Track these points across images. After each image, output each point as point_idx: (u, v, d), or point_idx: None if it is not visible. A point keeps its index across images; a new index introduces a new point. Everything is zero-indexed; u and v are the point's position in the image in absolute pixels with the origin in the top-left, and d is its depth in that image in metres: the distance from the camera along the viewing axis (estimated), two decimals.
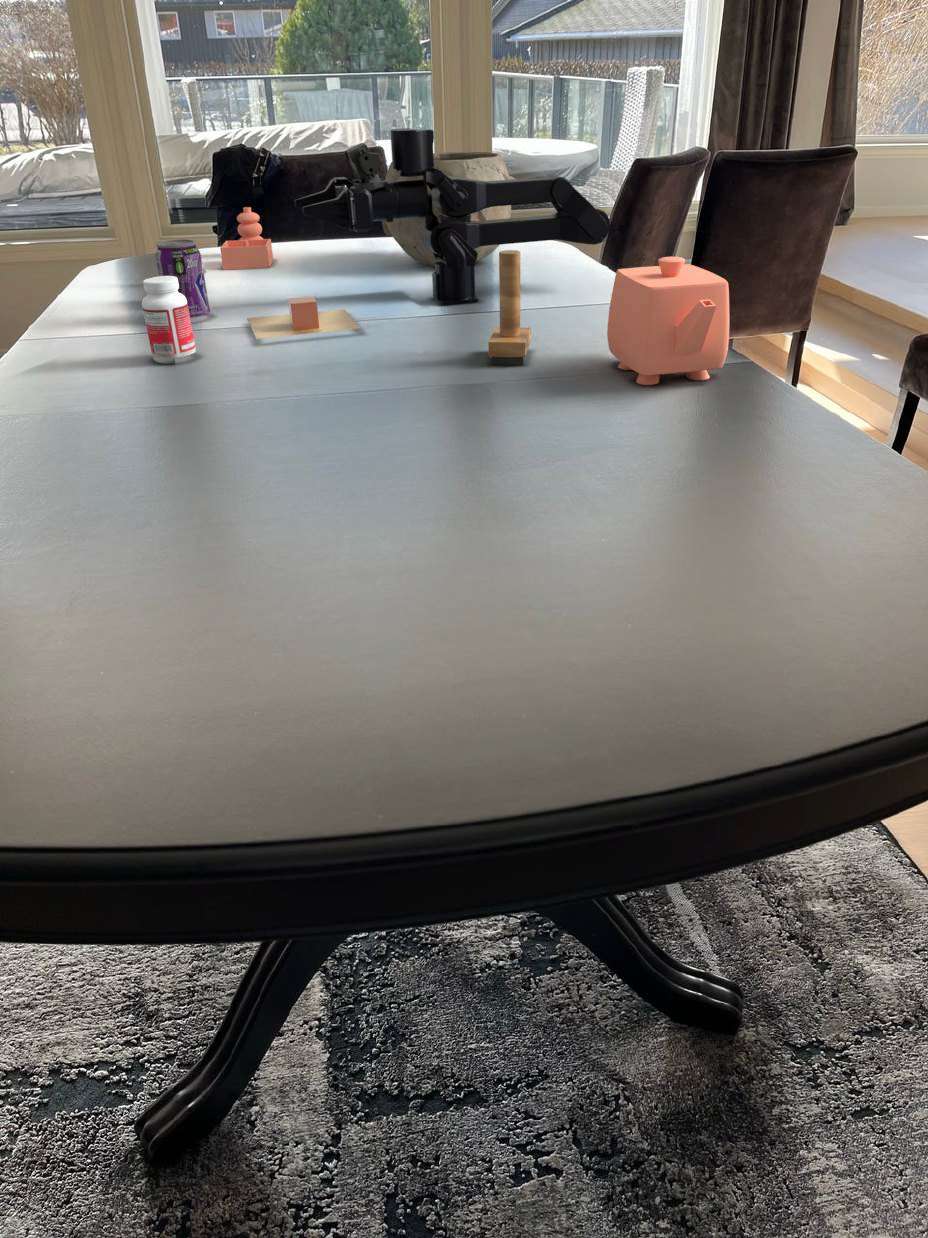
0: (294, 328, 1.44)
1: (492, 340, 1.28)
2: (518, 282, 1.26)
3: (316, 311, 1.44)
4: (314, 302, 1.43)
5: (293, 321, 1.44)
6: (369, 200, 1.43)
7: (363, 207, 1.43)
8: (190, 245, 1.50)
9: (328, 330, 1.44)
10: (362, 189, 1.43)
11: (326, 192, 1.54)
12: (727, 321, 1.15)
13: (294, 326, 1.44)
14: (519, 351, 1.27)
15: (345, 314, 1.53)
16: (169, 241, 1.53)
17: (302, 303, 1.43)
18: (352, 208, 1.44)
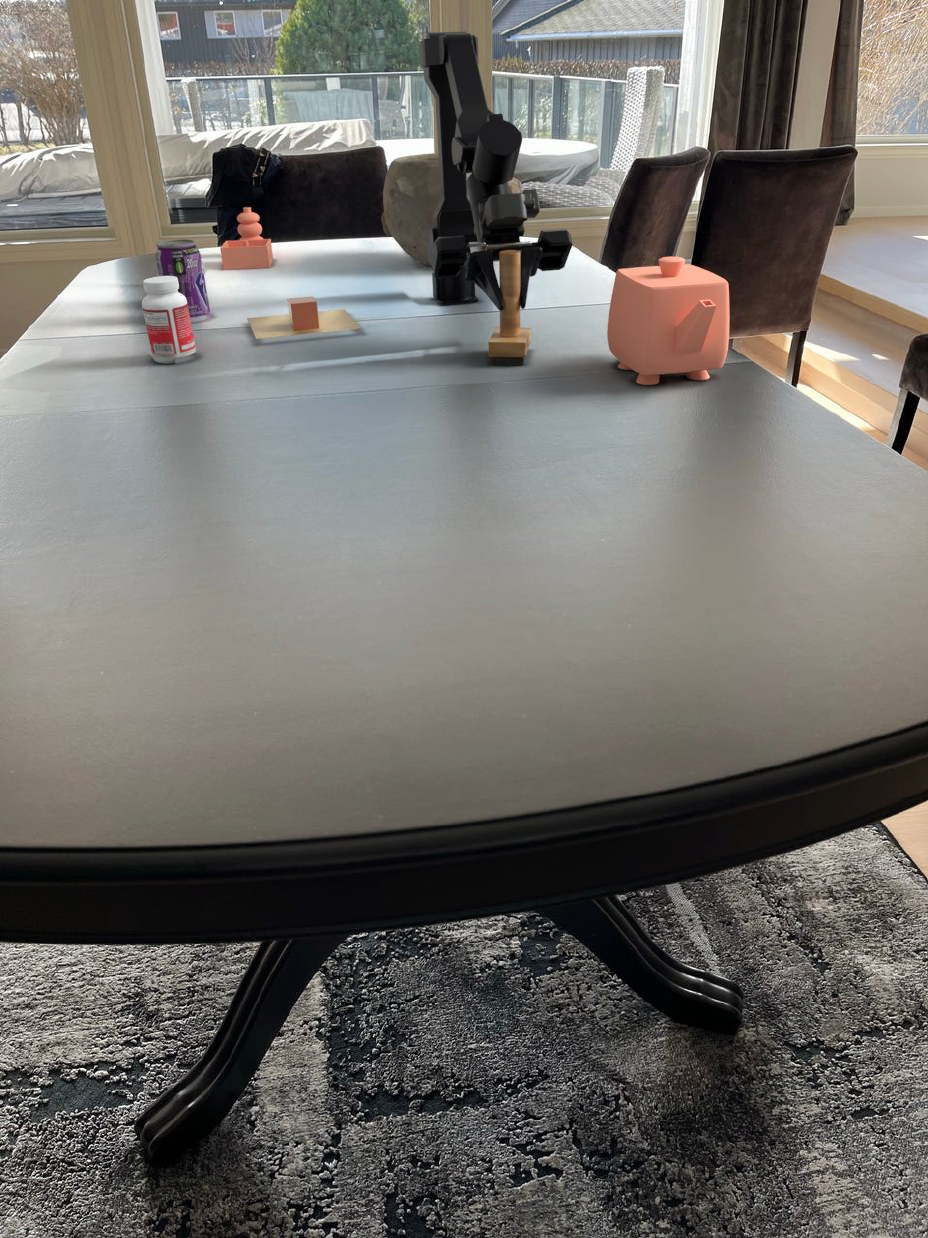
0: (294, 328, 1.44)
1: (492, 340, 1.28)
2: (518, 282, 1.26)
3: (316, 311, 1.44)
4: (314, 302, 1.43)
5: (293, 321, 1.44)
6: None
7: None
8: (190, 245, 1.50)
9: (328, 330, 1.44)
10: (568, 233, 1.28)
11: (493, 268, 1.27)
12: (727, 321, 1.15)
13: (294, 326, 1.44)
14: (519, 351, 1.27)
15: (345, 314, 1.53)
16: (169, 241, 1.53)
17: (302, 303, 1.43)
18: None
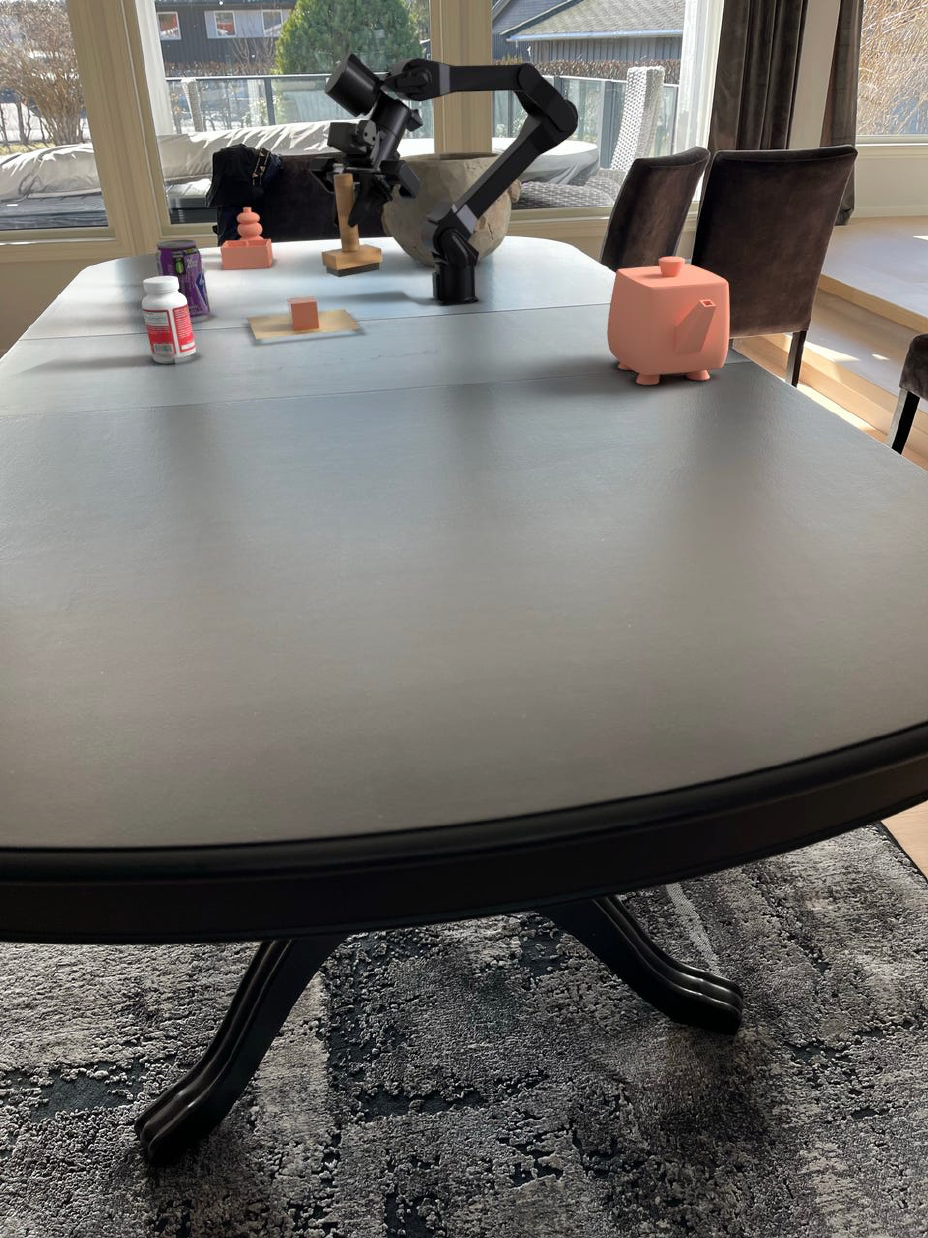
0: (294, 328, 1.44)
1: (327, 251, 1.48)
2: (345, 202, 1.43)
3: (316, 311, 1.44)
4: (314, 302, 1.43)
5: (293, 321, 1.44)
6: (408, 165, 1.40)
7: (409, 176, 1.40)
8: (190, 245, 1.50)
9: (328, 330, 1.44)
10: (399, 164, 1.38)
11: None
12: (727, 321, 1.15)
13: (294, 326, 1.44)
14: (333, 264, 1.45)
15: (345, 314, 1.53)
16: (169, 241, 1.53)
17: (302, 303, 1.43)
18: (383, 184, 1.43)
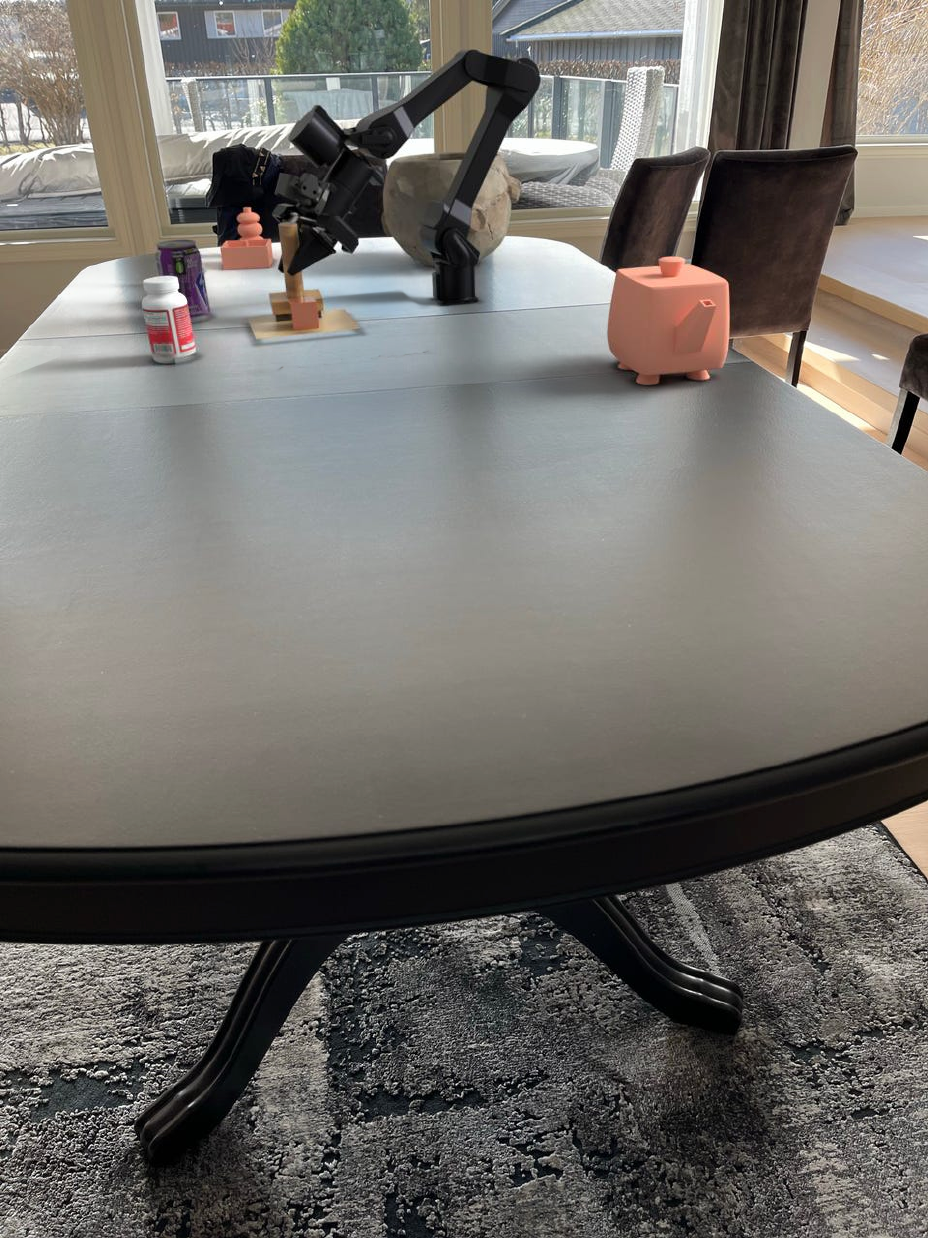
0: (294, 328, 1.44)
1: (274, 293, 1.51)
2: (287, 251, 1.45)
3: (316, 311, 1.44)
4: (314, 302, 1.43)
5: (293, 321, 1.44)
6: (342, 221, 1.40)
7: (342, 232, 1.40)
8: (190, 245, 1.50)
9: (328, 330, 1.44)
10: (330, 219, 1.39)
11: None
12: (727, 321, 1.15)
13: (294, 326, 1.44)
14: (272, 308, 1.49)
15: (345, 314, 1.53)
16: (169, 241, 1.53)
17: (302, 303, 1.43)
18: (324, 237, 1.44)
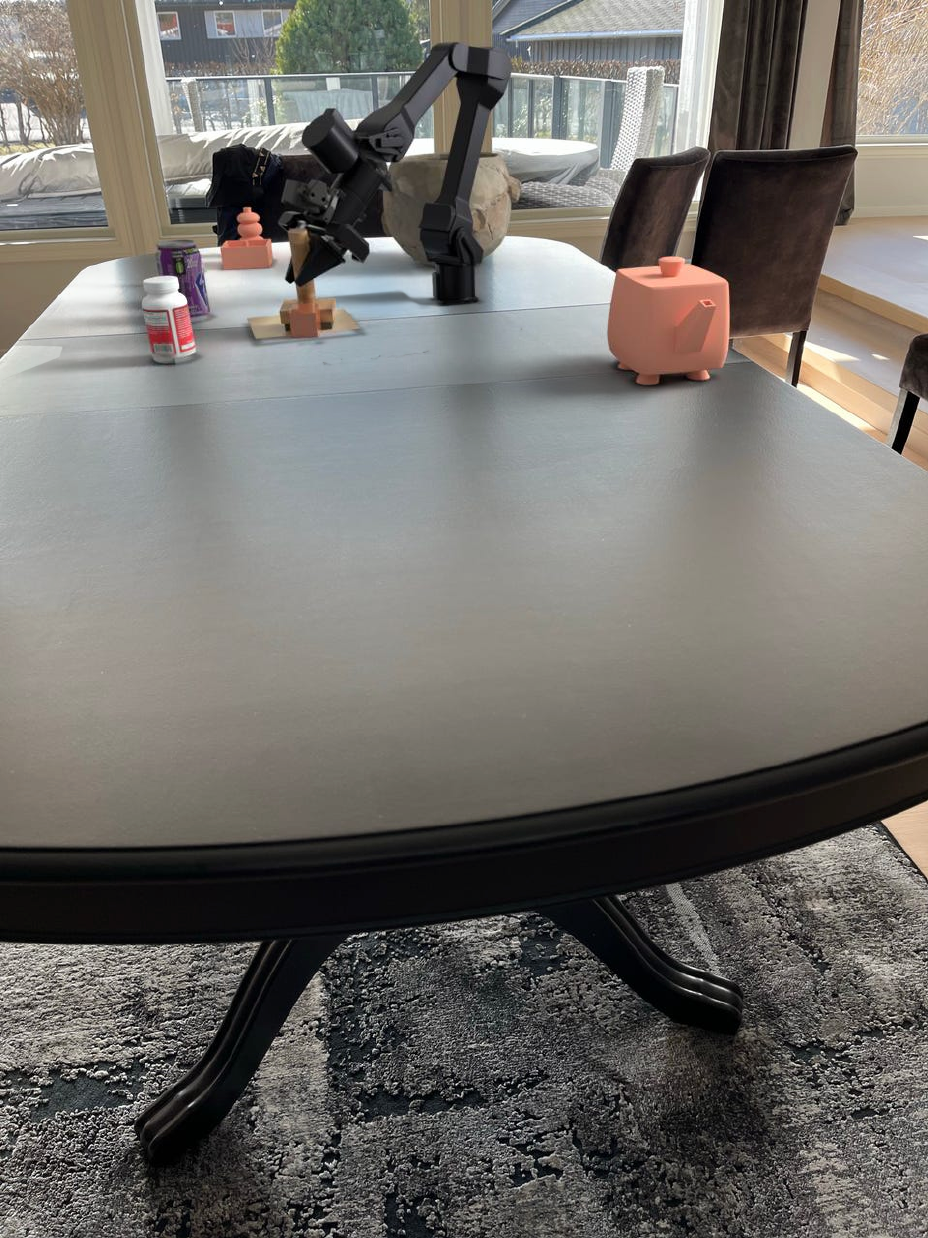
0: (292, 337, 1.41)
1: (289, 300, 1.46)
2: (295, 259, 1.39)
3: (315, 323, 1.39)
4: (313, 313, 1.39)
5: (291, 330, 1.40)
6: (352, 229, 1.33)
7: (353, 240, 1.34)
8: (190, 245, 1.50)
9: (328, 330, 1.44)
10: (340, 227, 1.33)
11: None
12: (727, 321, 1.15)
13: (292, 335, 1.40)
14: None
15: (345, 314, 1.53)
16: (169, 241, 1.53)
17: (301, 313, 1.39)
18: (333, 246, 1.37)
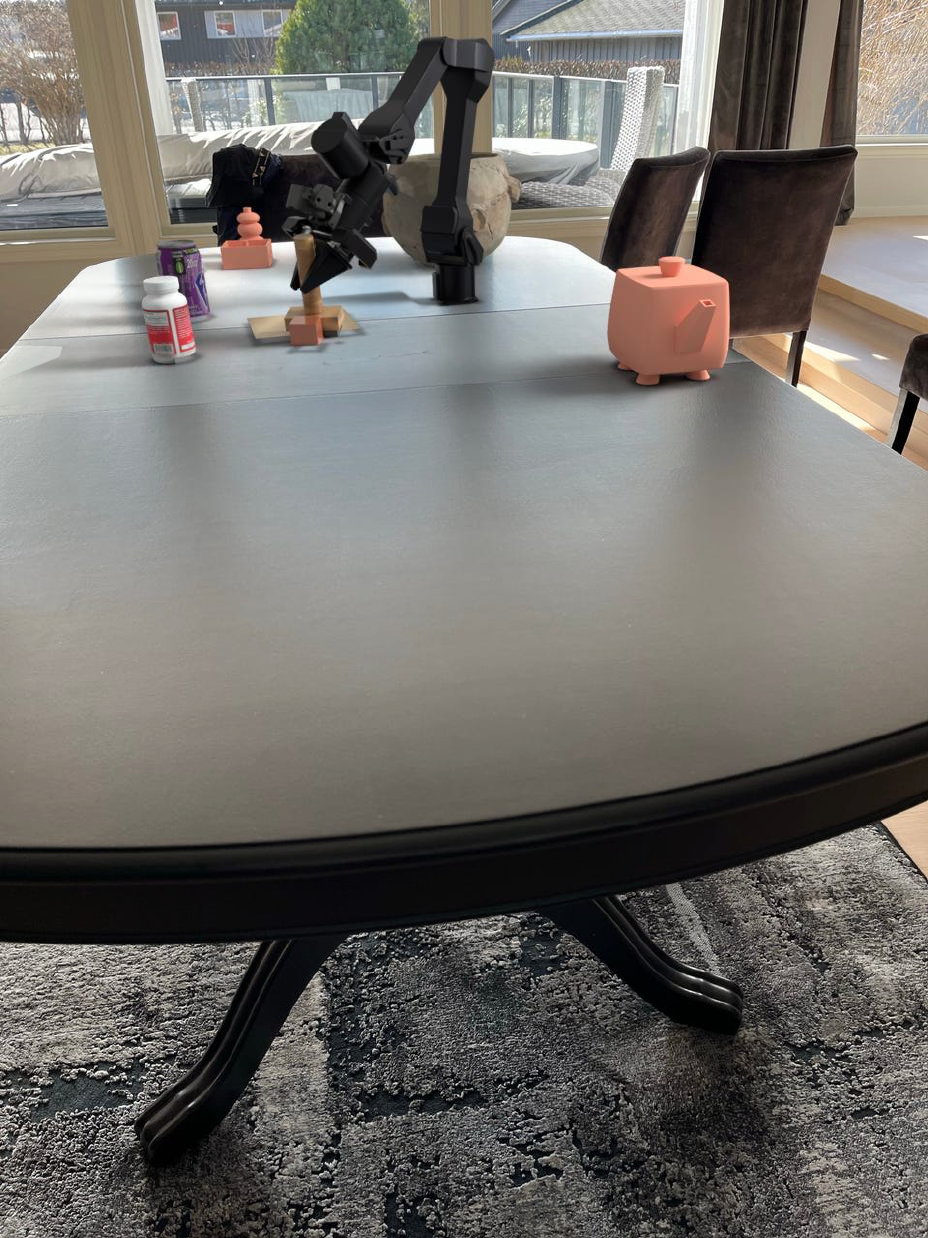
0: None
1: (295, 307, 1.42)
2: (300, 266, 1.35)
3: (315, 334, 1.36)
4: (313, 324, 1.35)
5: (291, 342, 1.37)
6: (359, 235, 1.30)
7: (360, 246, 1.30)
8: (190, 245, 1.50)
9: None
10: (347, 233, 1.29)
11: None
12: (727, 321, 1.15)
13: None
14: None
15: (345, 314, 1.53)
16: (169, 241, 1.53)
17: (301, 324, 1.35)
18: (339, 252, 1.34)
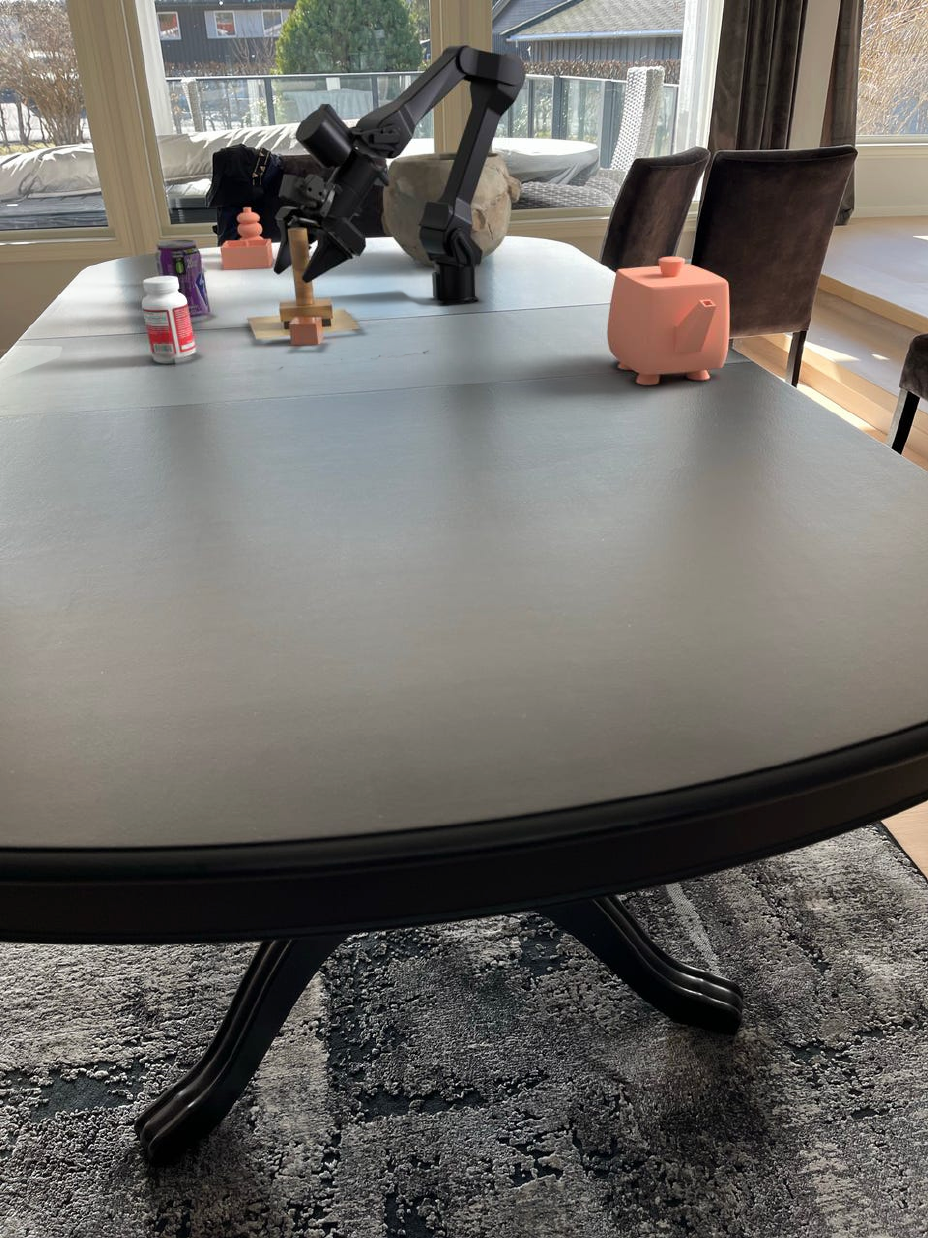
0: None
1: (285, 301, 1.47)
2: (295, 257, 1.41)
3: (315, 334, 1.36)
4: (313, 324, 1.35)
5: (291, 342, 1.37)
6: (349, 223, 1.36)
7: (349, 234, 1.36)
8: (190, 245, 1.50)
9: (328, 330, 1.44)
10: (337, 221, 1.35)
11: (287, 237, 1.46)
12: (727, 321, 1.15)
13: None
14: None
15: (345, 314, 1.53)
16: (169, 241, 1.53)
17: (301, 324, 1.36)
18: (340, 242, 1.37)
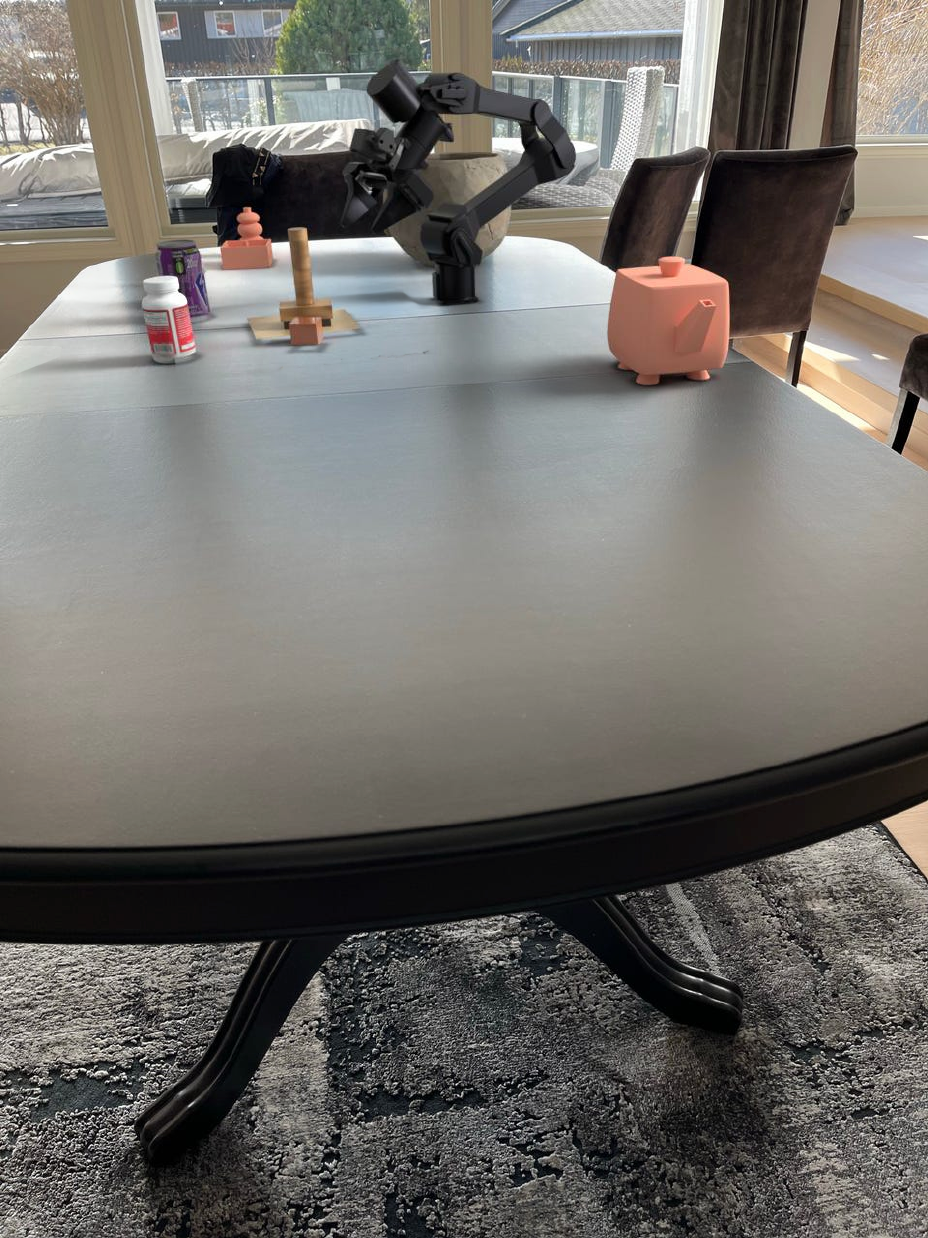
0: None
1: (285, 301, 1.47)
2: (295, 257, 1.41)
3: (315, 334, 1.36)
4: (313, 324, 1.35)
5: (291, 342, 1.37)
6: (419, 174, 1.40)
7: (419, 185, 1.41)
8: (190, 245, 1.50)
9: (328, 330, 1.44)
10: (408, 172, 1.39)
11: (355, 192, 1.50)
12: (727, 321, 1.15)
13: None
14: None
15: (345, 314, 1.53)
16: (169, 241, 1.53)
17: (301, 324, 1.36)
18: (409, 194, 1.42)
